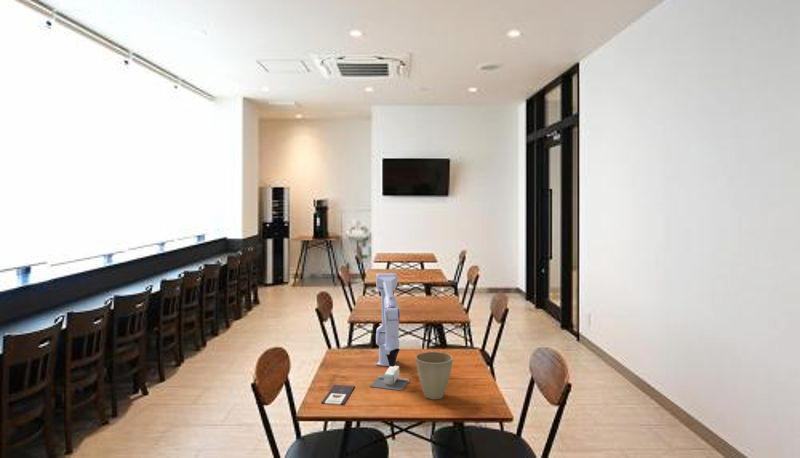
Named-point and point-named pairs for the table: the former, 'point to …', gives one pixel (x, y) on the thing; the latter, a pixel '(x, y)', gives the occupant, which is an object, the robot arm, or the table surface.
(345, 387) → the chocolate bar
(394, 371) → the tall block
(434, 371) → the plant pot
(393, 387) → the mat
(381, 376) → the stop rail
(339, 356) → the table surface
